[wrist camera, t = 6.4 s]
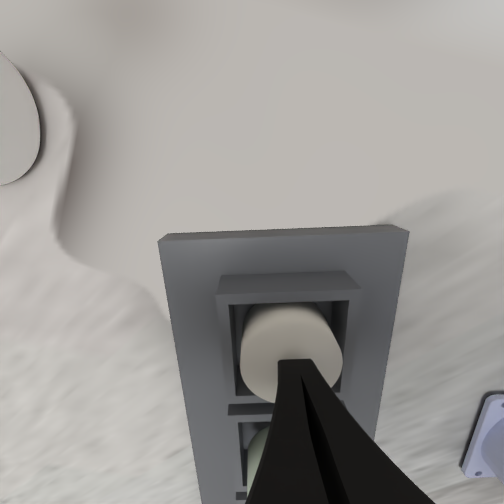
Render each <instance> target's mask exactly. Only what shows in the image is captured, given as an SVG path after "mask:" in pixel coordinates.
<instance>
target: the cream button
mask: <svg viewBox="0 0 504 504" xmlns="http://www.w3.org/2000/svg"><path fill="white" fill-rule="evenodd" d="M283 359H312V360H313V362H314V363H315V365H316V367H317V368H318V370H319V371H320V373H321V374H322V376H323V377H324V379H325V380H326V382H327V383H328V385H329V386H330V387H332V386H333V385H334V384H335V383H336V381H337V380H338V378H339V376H340V373H341V370H342V365H343V358H342V353H341V350H340V347H339V345H338V343H337V341H336V339H335V337H334V335H333V333H332V331H331V329H330V327H329V325H328V323H327V321H326V319H325V317H324V315H323V313H322V312H321V310H320V309H319V308H318V307H317V306H316V305H315V304H314V303H313V302H286V303H259V304H255V305H254V306H253V307H252V308H251V309H250V310H249V312H248V313H247V315H246V317H245V319H244V322H243V326H242V338H241V356H240V371H241V375H242V379H243V380H244V382H245V384H246V385H247V387H248V388H249V389H250V390H251V391H252V392H253V393H254V394H255V395H257V396H258V397H260V398H262V399H264V400H266V401H269V402H272V403H275V399H276V393H277V385H278V363H277V362H278V361H279V360H283Z"/></svg>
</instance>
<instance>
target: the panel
mask: <svg viewBox="0 0 504 504" xmlns="http://www.w3.org/2000/svg"><path fill="white" fill-rule="evenodd" d="M408 237H409V231H407V230H404V229H402V228H399V227H397V226H394V225H372V226H347V227H324V228H323V227H322V228H298V229H272V230H249V231H248V230H246V231H222V232H196V233H171V234H167V235H165V236H164V237H163V238H161V239H160V240H159V241H158V247H159V253H160V259H161V265H162V270H163V277H164V283H165V289H166V294H167V300H168V306H169V312H170V318H171V324H172V330H173V336H174V342H175V348H176V354H177V360H178V365H179V371H180V377H181V383H182V389H183V395H184V401H185V407H186V413H187V419H188V425H189V430H190V436H191V442H192V448H193V454H194V460H195V466H196V472H197V478H198V484H199V489H200V495H201V501H202V504H245V502H246V500H247V469H248V445H249V443H250V441H251V439H252V438H253V437H254V436H255V435H256V434H257V433H258V432H259V431H261V430H262V429H264V428H266V427H268V426H270V423H271V419H272V414H273V410H274V405H275V403H272V402H269V401H266V400H264V399H262V398H260V397H258V396H257V395H255V394H254V393H253V392H252V391H251V390H250V389H249V388H248V387H247V385H246V384H245V382H244V380H243V379H242V375H241V371H240V356H241V338H242V326H243V322H244V319H245V317H246V315H247V313H248V312H249V310H250V309H251V308H252V307H253V306H254V305H255V304H259V303H286V302H313V303H314V304H315V305H316V306H317V307H318V308H319V309H320V310H321V312H322V313H323V315H324V317H325V319H326V321H327V323H328V325H329V327H330V329H331V331H332V333H333V335H334V337H335V339H336V341H337V343H338V345H339V347H340V350H341V353H342V358H343V365H342V370H341V373H340V376H339V378H338V380H337V381H336V383H335V384H334V385H333V386H332V387H331V389H332V390H333V392H334V393H335V394H336V396H337V397H338V398H339V400H340V401H341V402H342V403H343V405H344V406H345V407H346V409H347V410H348V411H349V413H350V414H351V415H352V416H353V418H354V419H355V420H356V421H357V422H358V424H359V425H360V426H361V427H362V428H363V430H364V431H365V432H366V433H367V434H368V435H369V437H370V438H371V439H372V440H373V441H374V437H375V431H376V425H377V419H378V413H379V407H380V401H381V396H382V390H383V384H384V378H385V372H386V366H387V360H388V355H389V349H390V343H391V337H392V331H393V325H394V319H395V313H396V308H397V302H398V296H399V290H400V284H401V278H402V272H403V267H404V261H405V255H406V249H407V243H408Z"/></svg>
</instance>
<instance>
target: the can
mask: <svg viewBox="0 0 504 504" xmlns="http://www.w3.org/2000/svg"><path fill="white" fill-rule="evenodd" d="M39 146H40V121H39V115H38V111H37V107H36V104H35V101H34V99H33V96H32V94H31V92H30V90H29V88H28V86H27V84H26V82H25V81H24V79H23V77H22V76H21V74H20V73H19V72H18V70H17V69H16V68H15V66H14V65H13V64H12V63H11V62H10V60H9V59H8V58H7V57H6V56H5V55H4V54H3V53H2V52H1V51H0V185H4V184H8V183H11V182H13V181H15V180H17V179H18V178H20V177H21V176H23V175H24V174H25V173H26V172H27V171H28V170H29V168H30V167H31V166H32V165H33V163H34V161H35V159H36V157H37V154H38V151H39Z"/></svg>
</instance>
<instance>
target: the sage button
mask: <svg viewBox="0 0 504 504" xmlns="http://www.w3.org/2000/svg"><path fill="white" fill-rule="evenodd" d="M269 427H270V426H268V427H266V428H264V429H262V430H261V431H259V432H258V433H257V434H256V435H255V436H254V437H253V438H252V439H251V441H250V443H249V445H248V469H247V497H248V494H249V491H250V489H251V486H252V483H253V480H254V477H255V474H256V471H257V468H258V465H259V462H260V459H261V456H262V453H263V449H264V446H265V442H266V439H267V435H268V431H269Z"/></svg>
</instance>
